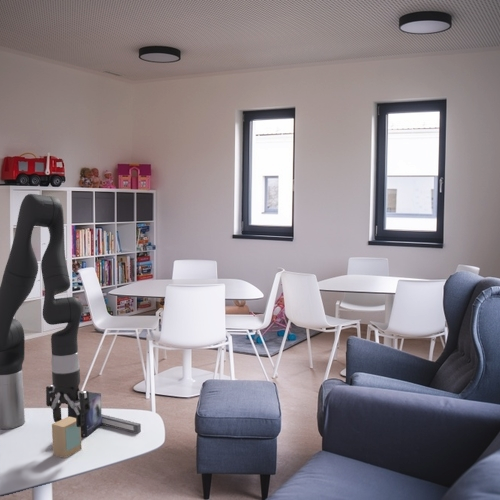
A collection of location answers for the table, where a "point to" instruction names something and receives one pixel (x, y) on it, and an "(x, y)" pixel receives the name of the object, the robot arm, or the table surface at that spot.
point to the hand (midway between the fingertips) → (68, 423)
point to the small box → (90, 414)
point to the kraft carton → (66, 437)
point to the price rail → (121, 424)
